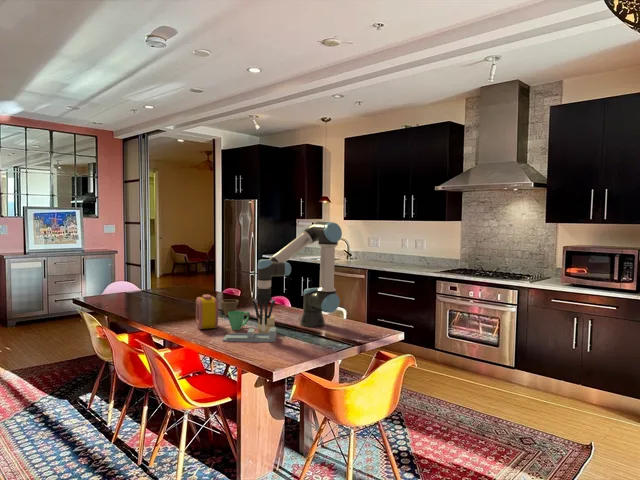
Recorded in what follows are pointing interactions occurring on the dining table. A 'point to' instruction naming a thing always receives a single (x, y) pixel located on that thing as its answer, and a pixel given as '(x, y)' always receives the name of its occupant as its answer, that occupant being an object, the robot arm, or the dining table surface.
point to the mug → (237, 319)
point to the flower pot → (229, 305)
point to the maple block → (267, 327)
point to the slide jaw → (250, 333)
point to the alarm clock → (206, 312)
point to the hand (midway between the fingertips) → (263, 330)
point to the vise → (256, 338)
